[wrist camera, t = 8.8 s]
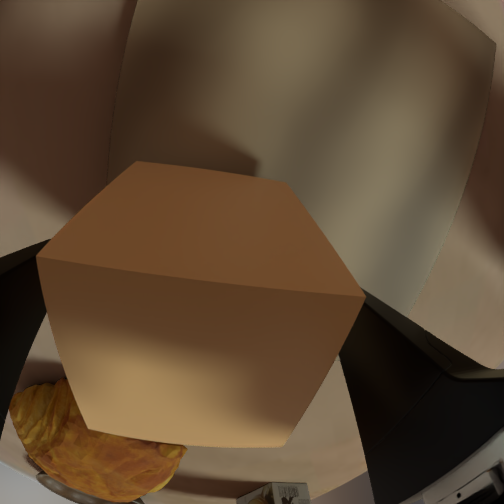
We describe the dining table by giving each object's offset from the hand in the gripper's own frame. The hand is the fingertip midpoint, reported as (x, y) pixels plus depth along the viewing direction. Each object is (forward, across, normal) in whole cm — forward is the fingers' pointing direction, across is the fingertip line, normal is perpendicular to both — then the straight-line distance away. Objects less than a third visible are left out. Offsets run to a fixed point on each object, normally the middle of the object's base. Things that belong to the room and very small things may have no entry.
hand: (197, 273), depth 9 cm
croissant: (+5, +7, +20) cm, 21 cm away
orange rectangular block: (+2, 0, 0) cm, 2 cm away
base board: (+4, -4, -3) cm, 7 cm away
